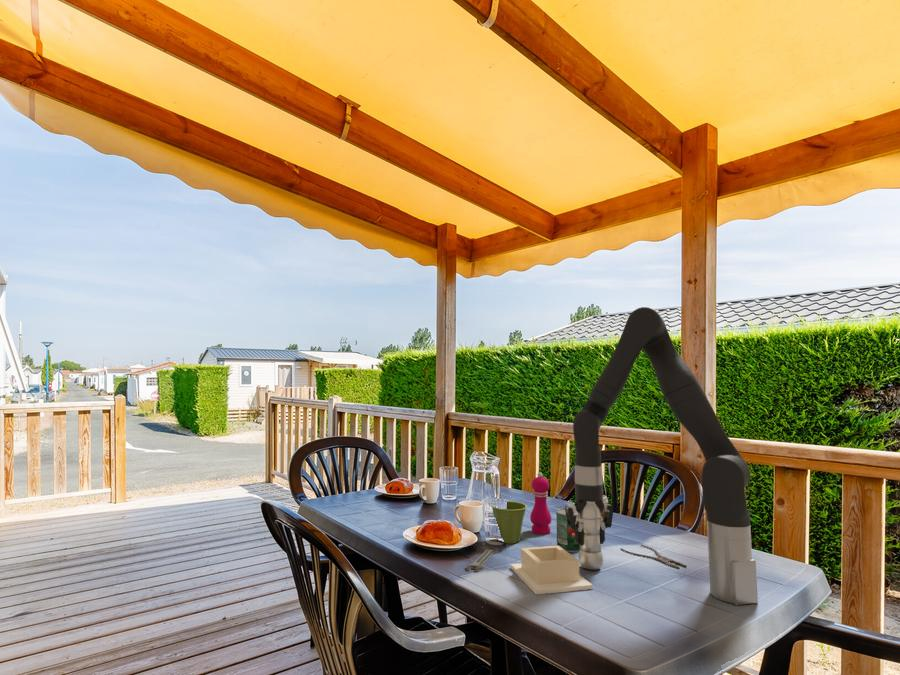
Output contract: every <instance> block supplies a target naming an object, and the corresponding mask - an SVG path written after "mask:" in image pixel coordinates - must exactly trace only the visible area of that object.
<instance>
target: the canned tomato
mask: <svg viewBox="0 0 900 675" xmlns="http://www.w3.org/2000/svg"><path fill="white" fill-rule="evenodd" d="M555 514H556V518H555V519H556V546H560V547H561V548H563V549H564V550H565V551H567V552H568V553H579V550H580V545H578V544H577V542H576V541H575V530H573V529H571V528H570V527H568V522H567V517H566V512H565V508H559V509H557V510H556V513H555ZM577 514H578V512H577V511H576V510H575V514H574V519H575V523H576V517H577Z"/></svg>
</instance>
